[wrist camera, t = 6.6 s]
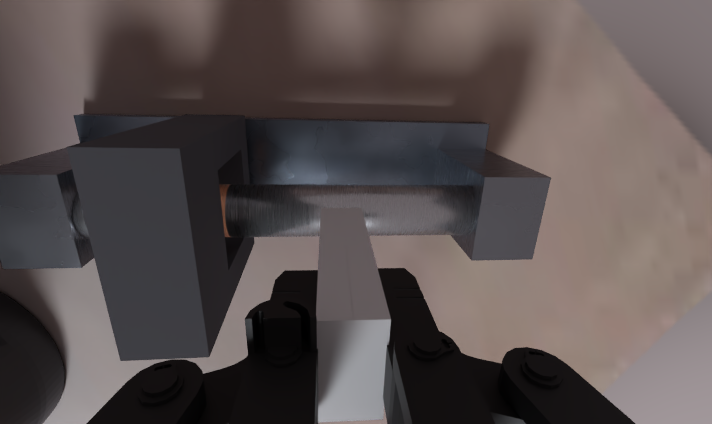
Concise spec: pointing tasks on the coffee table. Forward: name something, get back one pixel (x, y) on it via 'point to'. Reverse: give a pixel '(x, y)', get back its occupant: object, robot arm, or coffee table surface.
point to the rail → (306, 187)
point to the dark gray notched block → (164, 230)
